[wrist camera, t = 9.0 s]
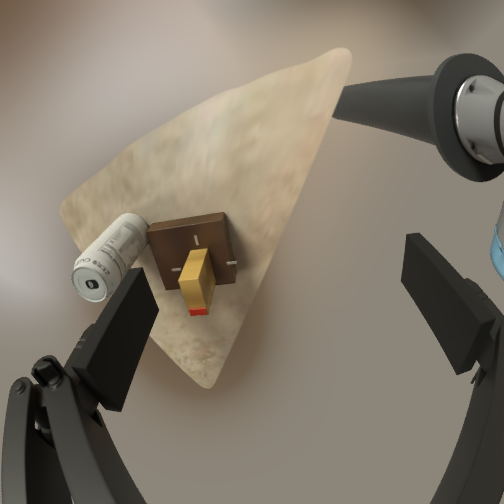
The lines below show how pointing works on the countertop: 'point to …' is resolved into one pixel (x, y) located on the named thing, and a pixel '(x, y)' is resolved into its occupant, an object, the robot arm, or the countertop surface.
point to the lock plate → (192, 247)
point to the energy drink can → (109, 258)
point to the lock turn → (198, 282)
